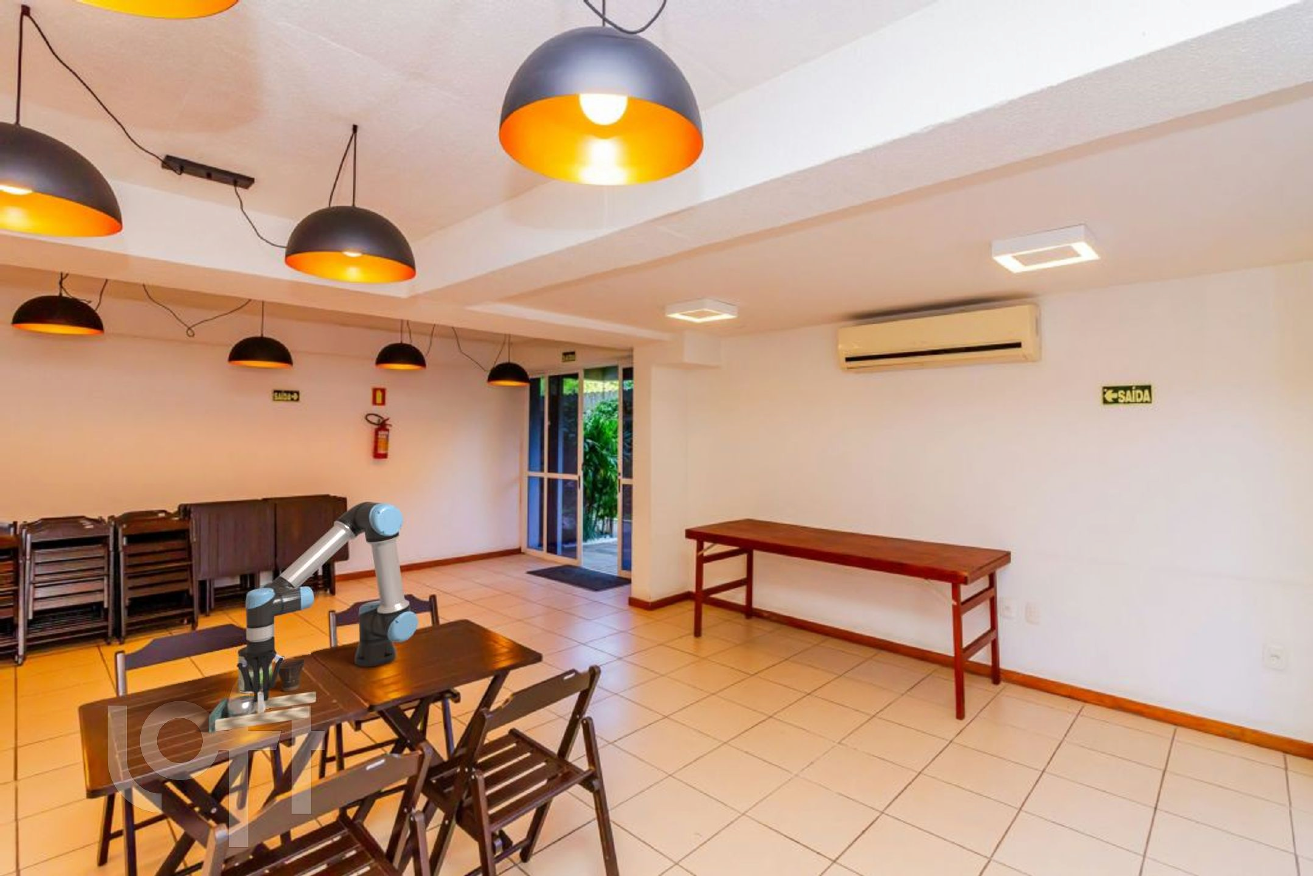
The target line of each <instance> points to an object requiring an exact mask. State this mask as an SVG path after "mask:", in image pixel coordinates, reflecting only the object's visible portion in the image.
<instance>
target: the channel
mask: <svg viewBox="0 0 1313 876" xmlns="http://www.w3.org/2000/svg"><path fill="white" fill-rule="evenodd" d="M316 695H317V692H316V691H309V692H303V693H296V694H288V695H282V696H275V697H273V696H272V697H269V698H268V700H267V701H265V708H266V709H265V710H270V709H269V708H271V709H278V708H284V707H291V706H297V705H304V704H311V703H315V702H317V701H316V700H317V698H316ZM228 702H229V697H224V698H222V699H221V700H220V702H219V703H218V704H217V705H216V707H215V708H214V709H213V710H212V712H211V713H210V714H209V716H208V728H209V729H208V732H209V733H215V732H221V731H227V730H228V731H229V730H234V729H240V728H248V727H255V726H260V725H269V724H273V723H279V722H286V721H292V720H298V719H299V720H300V719H307V718H310V705H306V706H301V707H294V708H287V709H280V710H273V711H266V712H265V711H264V712H263V713H258V702H254V704H255V712H256V711H257V713H255V714H251V715H244V716H238V717H231V718H228Z"/></svg>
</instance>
